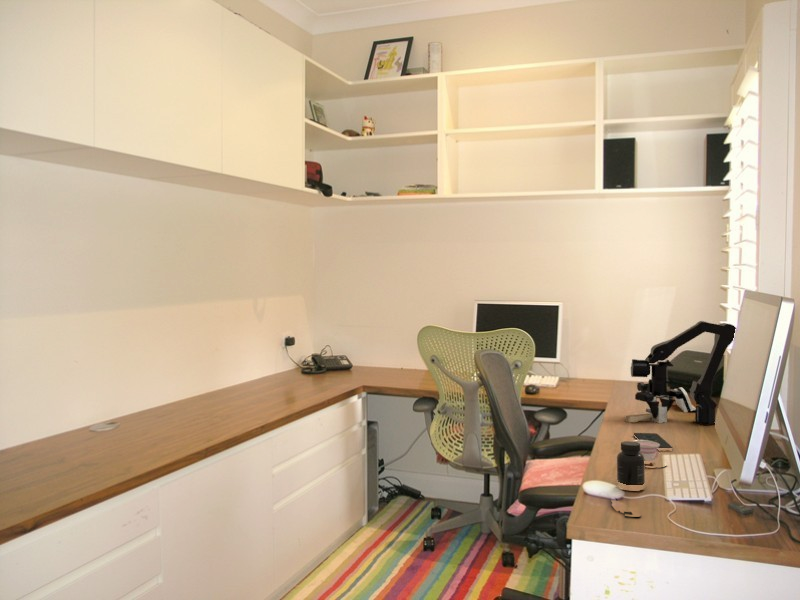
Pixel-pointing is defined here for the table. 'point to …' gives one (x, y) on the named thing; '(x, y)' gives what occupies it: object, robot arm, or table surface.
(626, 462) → the supplement bottle
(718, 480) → the table surface
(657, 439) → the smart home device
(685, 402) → the white rounded piece
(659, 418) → the marking gauge
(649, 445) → the teacup
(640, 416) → the pine board
